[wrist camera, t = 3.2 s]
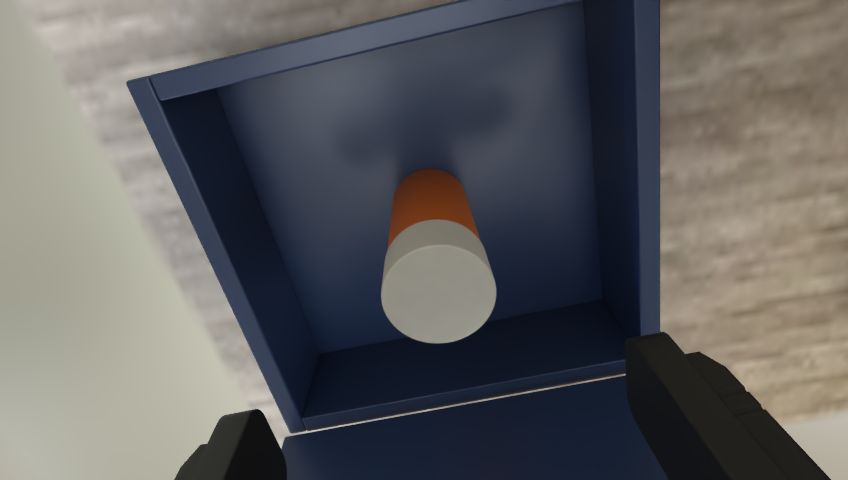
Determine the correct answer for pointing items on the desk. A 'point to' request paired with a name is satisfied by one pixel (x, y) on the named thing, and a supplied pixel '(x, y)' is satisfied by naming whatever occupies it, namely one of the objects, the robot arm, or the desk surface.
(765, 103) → the desk surface
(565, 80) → the pencil box
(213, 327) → the desk surface
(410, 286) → the glue stick
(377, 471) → the lid
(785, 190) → the desk surface
